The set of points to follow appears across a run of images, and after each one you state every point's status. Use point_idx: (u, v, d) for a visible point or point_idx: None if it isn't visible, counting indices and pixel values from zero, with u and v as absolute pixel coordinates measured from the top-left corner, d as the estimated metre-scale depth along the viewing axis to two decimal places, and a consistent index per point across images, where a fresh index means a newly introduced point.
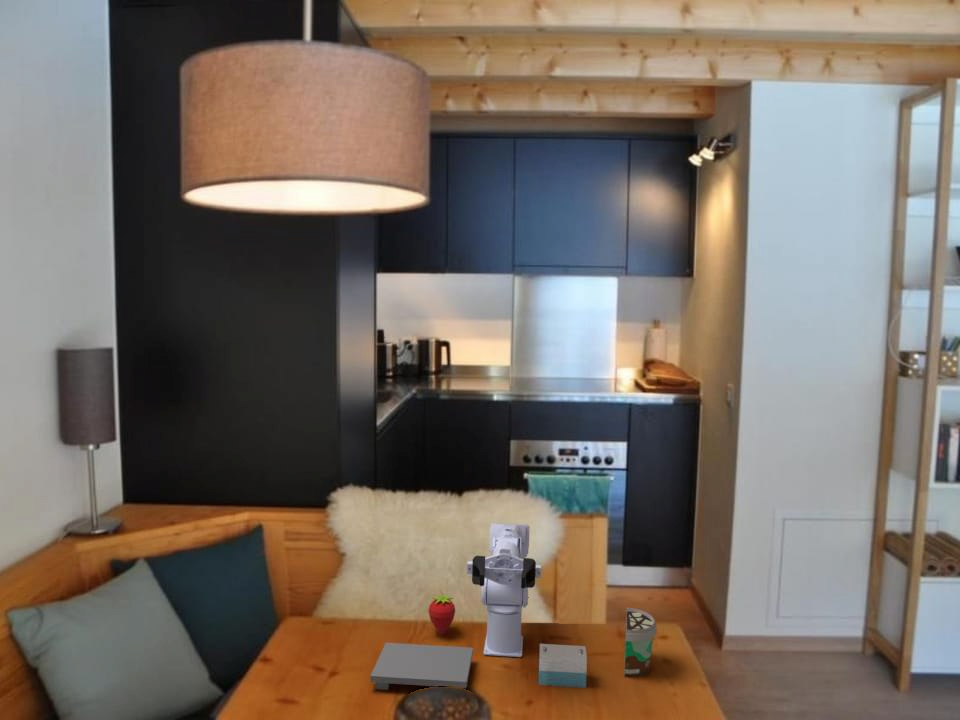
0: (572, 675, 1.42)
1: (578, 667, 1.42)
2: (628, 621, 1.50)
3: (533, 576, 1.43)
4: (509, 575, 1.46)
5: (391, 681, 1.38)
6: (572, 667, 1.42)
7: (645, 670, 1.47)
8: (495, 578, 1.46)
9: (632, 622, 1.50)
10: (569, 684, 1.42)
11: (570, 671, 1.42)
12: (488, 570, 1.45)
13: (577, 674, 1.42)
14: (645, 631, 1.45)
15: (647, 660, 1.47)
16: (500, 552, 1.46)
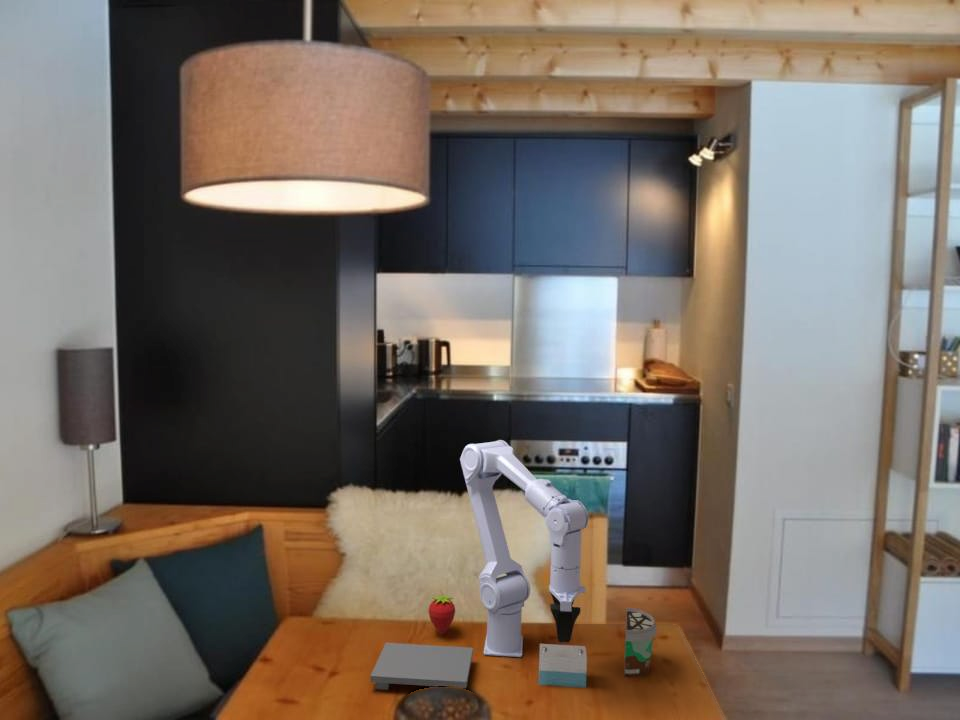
0: (572, 675, 1.42)
1: (578, 667, 1.42)
2: (628, 621, 1.50)
3: None
4: None
5: (391, 681, 1.38)
6: (572, 667, 1.42)
7: (645, 670, 1.47)
8: None
9: (632, 622, 1.50)
10: (569, 684, 1.42)
11: (570, 671, 1.42)
12: None
13: (577, 674, 1.42)
14: (645, 631, 1.45)
15: (647, 660, 1.47)
16: None
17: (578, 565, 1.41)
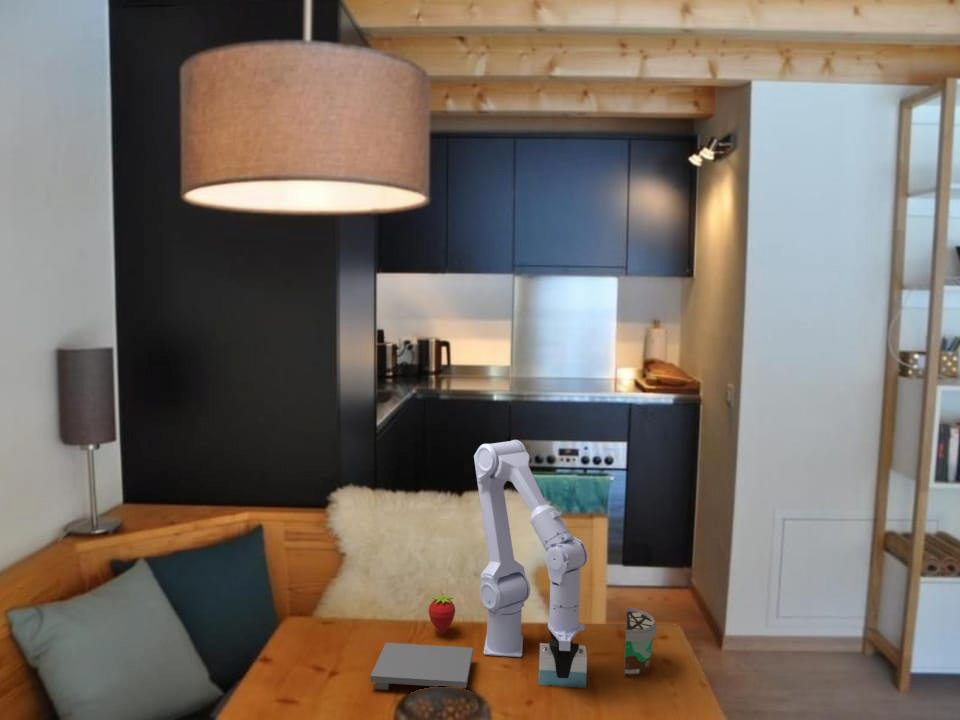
0: (572, 675, 1.42)
1: (578, 666, 1.42)
2: (628, 621, 1.50)
3: None
4: None
5: (391, 681, 1.38)
6: (572, 667, 1.42)
7: (645, 670, 1.47)
8: None
9: (632, 622, 1.50)
10: (569, 683, 1.42)
11: (570, 670, 1.42)
12: None
13: (577, 673, 1.42)
14: (645, 631, 1.45)
15: (647, 660, 1.47)
16: None
17: (577, 603, 1.42)
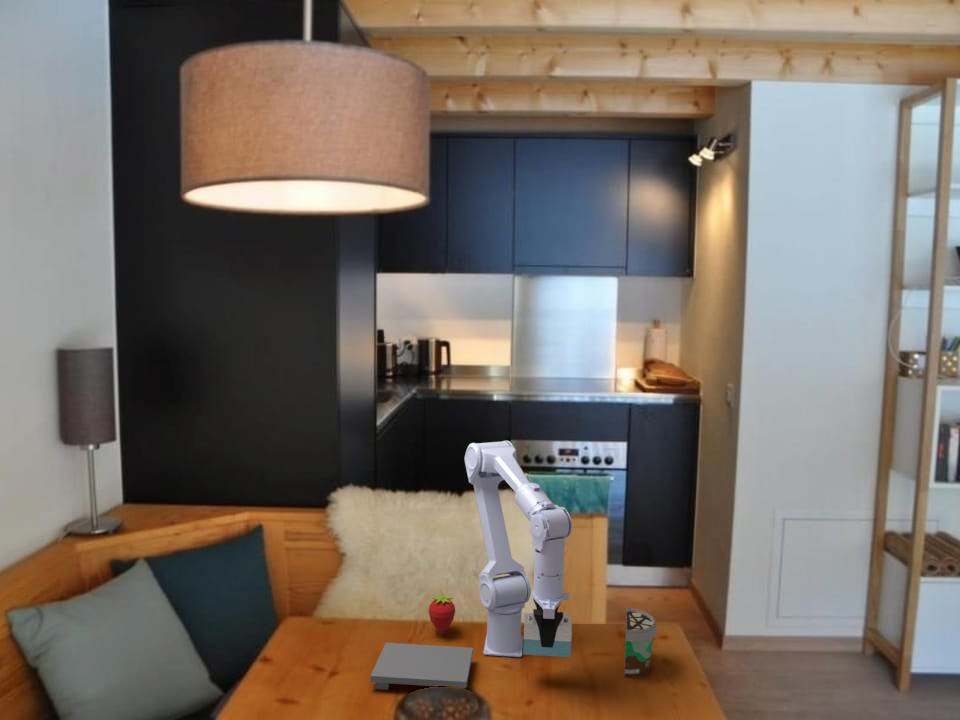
0: (557, 644, 1.40)
1: (563, 635, 1.40)
2: (628, 621, 1.50)
3: None
4: None
5: (391, 681, 1.38)
6: (557, 636, 1.40)
7: (645, 670, 1.47)
8: None
9: (632, 622, 1.50)
10: (554, 653, 1.41)
11: (555, 639, 1.40)
12: None
13: (562, 643, 1.40)
14: (645, 631, 1.45)
15: (647, 660, 1.47)
16: None
17: (559, 573, 1.40)
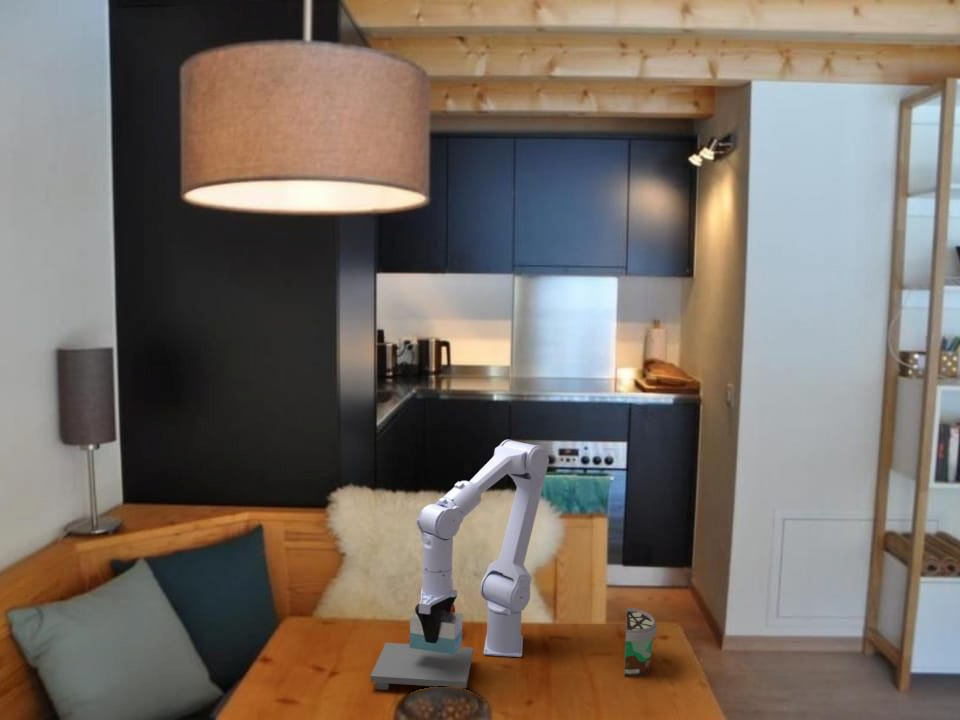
0: (441, 641, 1.41)
1: (446, 632, 1.40)
2: (628, 621, 1.50)
3: None
4: None
5: (391, 681, 1.38)
6: (441, 632, 1.40)
7: (645, 670, 1.47)
8: None
9: (632, 622, 1.50)
10: (438, 649, 1.41)
11: (439, 636, 1.41)
12: None
13: (446, 640, 1.40)
14: (645, 631, 1.45)
15: (647, 660, 1.47)
16: None
17: (428, 569, 1.40)
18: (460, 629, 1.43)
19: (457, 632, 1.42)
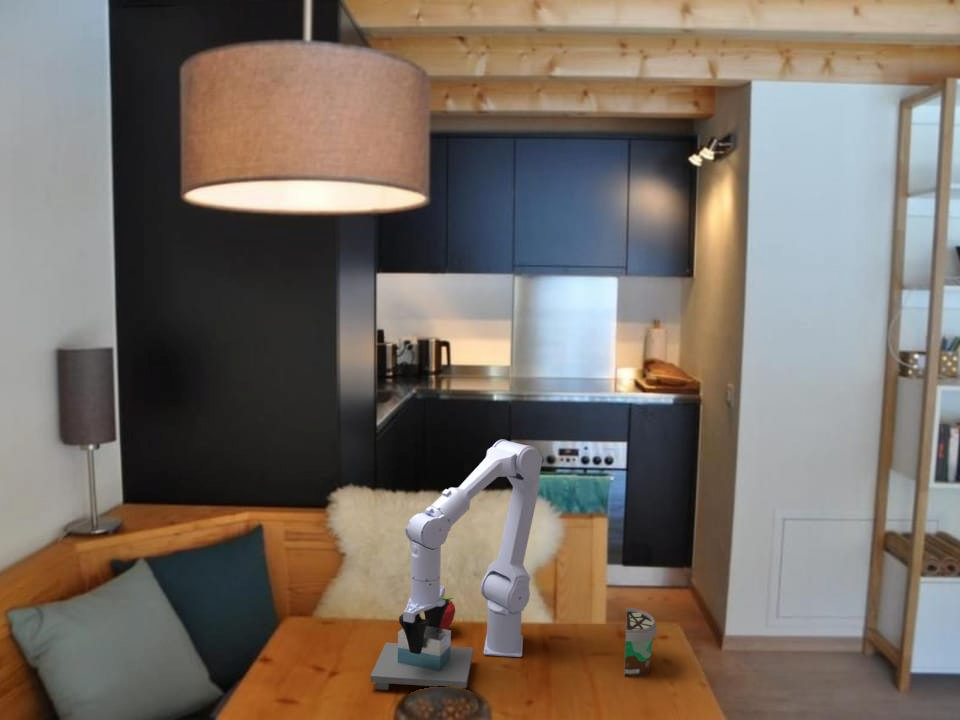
0: (427, 657, 1.41)
1: (432, 649, 1.41)
2: (628, 621, 1.50)
3: None
4: None
5: (391, 681, 1.38)
6: (427, 649, 1.41)
7: (645, 670, 1.47)
8: None
9: (632, 622, 1.50)
10: (424, 665, 1.42)
11: (425, 652, 1.41)
12: None
13: (432, 656, 1.41)
14: (645, 631, 1.45)
15: (647, 660, 1.47)
16: None
17: (415, 577, 1.41)
18: (448, 646, 1.44)
19: (444, 649, 1.42)
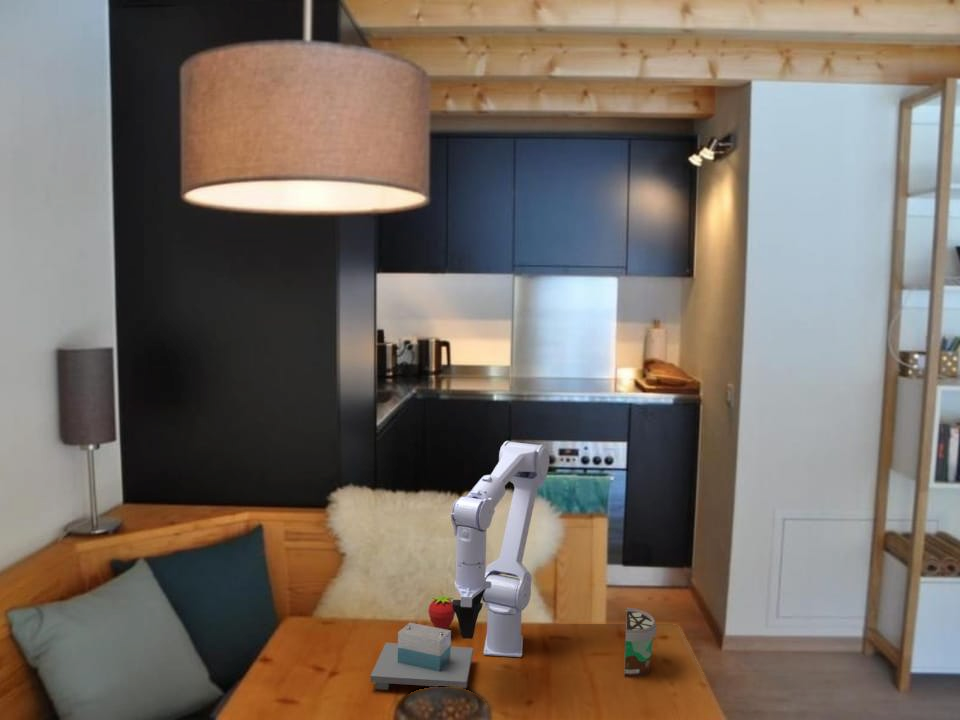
0: (427, 657, 1.41)
1: (432, 649, 1.41)
2: (628, 621, 1.50)
3: None
4: None
5: (391, 681, 1.38)
6: (427, 649, 1.41)
7: (645, 670, 1.47)
8: None
9: (632, 622, 1.50)
10: (424, 665, 1.42)
11: (425, 652, 1.41)
12: None
13: (432, 656, 1.41)
14: (645, 631, 1.45)
15: (647, 660, 1.47)
16: None
17: (466, 562, 1.39)
18: (448, 646, 1.44)
19: (444, 649, 1.42)
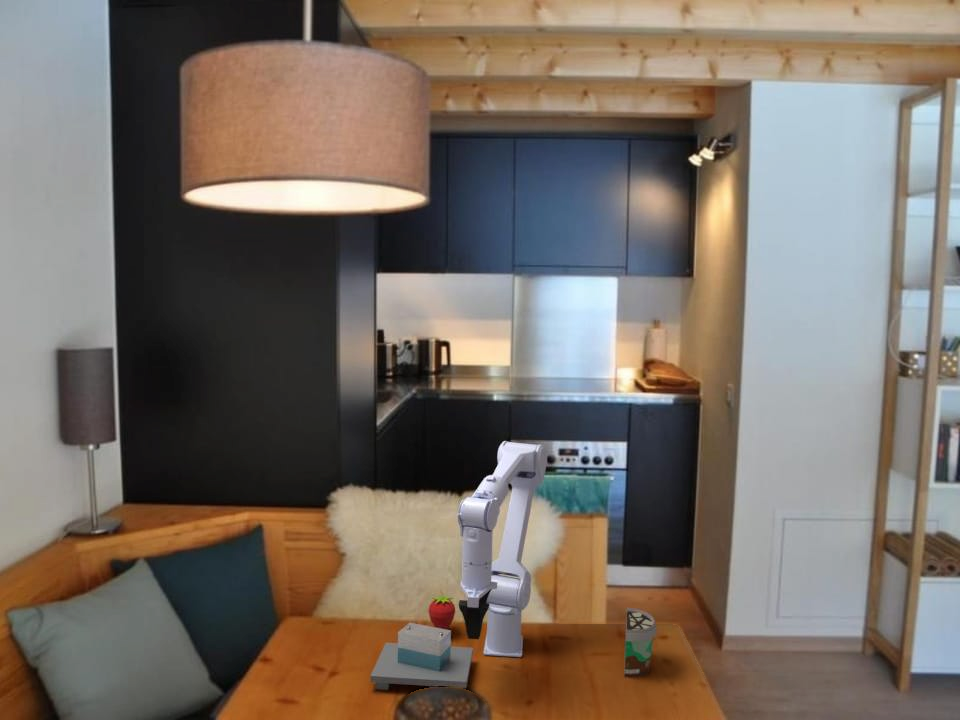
0: (427, 657, 1.41)
1: (432, 649, 1.41)
2: (628, 621, 1.50)
3: None
4: None
5: (391, 681, 1.38)
6: (427, 649, 1.41)
7: (645, 670, 1.47)
8: None
9: (632, 622, 1.50)
10: (424, 665, 1.42)
11: (425, 652, 1.41)
12: None
13: (432, 656, 1.41)
14: (645, 631, 1.45)
15: (647, 660, 1.47)
16: None
17: (474, 562, 1.39)
18: (448, 646, 1.44)
19: (444, 649, 1.42)
